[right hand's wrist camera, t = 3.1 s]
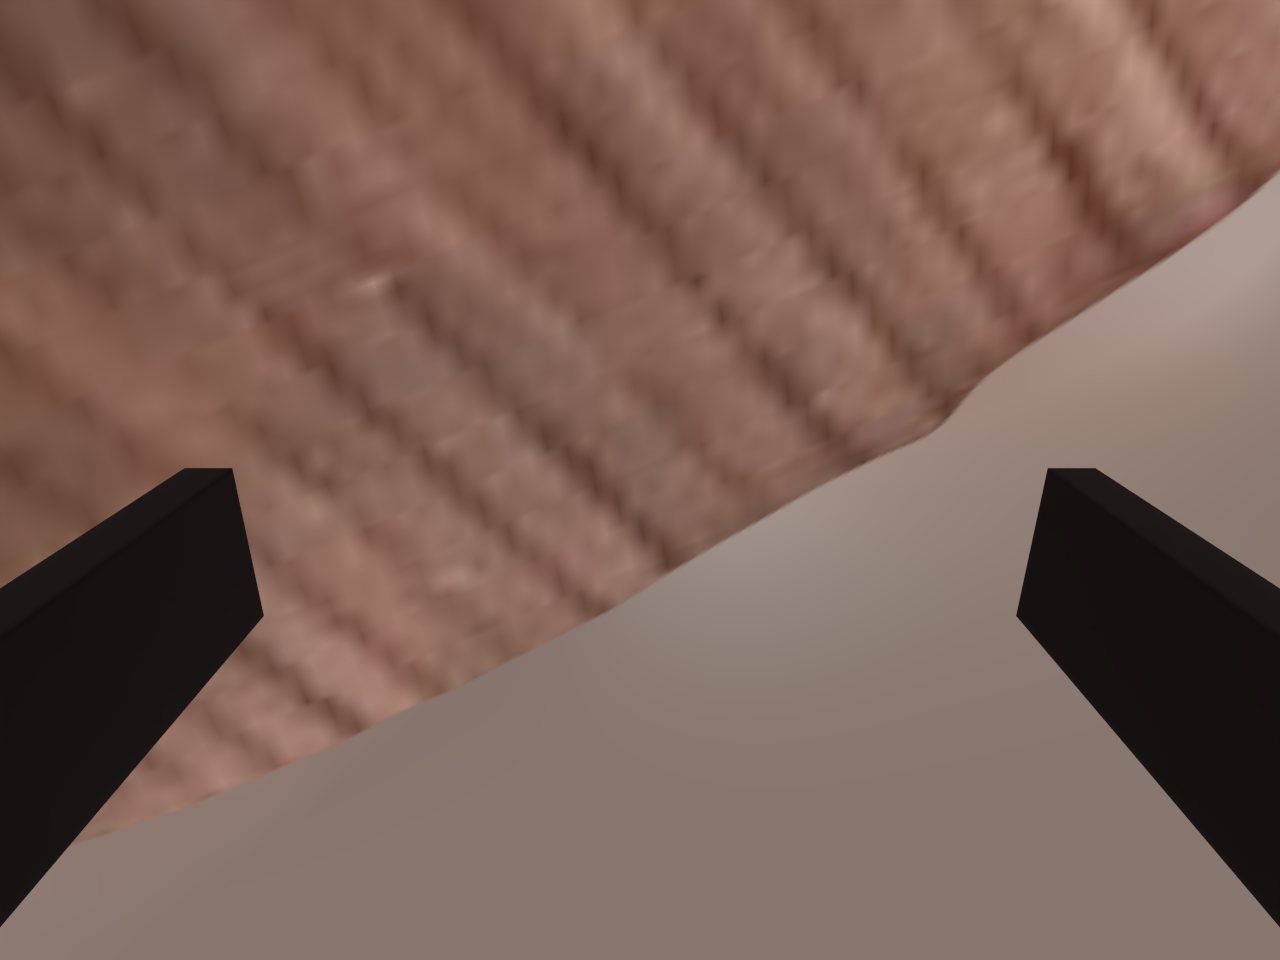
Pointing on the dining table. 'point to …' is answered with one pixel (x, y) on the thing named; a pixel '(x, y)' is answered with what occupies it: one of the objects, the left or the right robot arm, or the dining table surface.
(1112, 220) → the dining table surface
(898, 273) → the dining table surface
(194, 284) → the dining table surface
